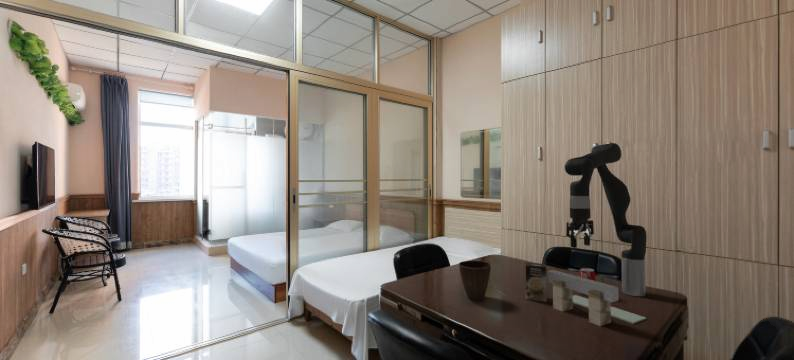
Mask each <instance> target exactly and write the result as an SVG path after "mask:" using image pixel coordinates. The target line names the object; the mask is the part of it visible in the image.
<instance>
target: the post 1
mask: <svg viewBox="0 0 794 360" xmlns="http://www.w3.org/2000/svg"><path fill="white" fill-rule="evenodd" d="M573 291H574V290H571V289H567V288H564V287H563V282H561V281H558V280H554V279H553V284H552V308H553V309H554V310H557V311H560V312H563V313H564V312H566V311H570V310H572V309H574V303H573V296H574V295H573V293H574V292H573Z"/></svg>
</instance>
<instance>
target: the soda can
mask: <svg viewBox="0 0 794 360" xmlns="http://www.w3.org/2000/svg"><path fill="white" fill-rule="evenodd" d="M578 277H582V278H586V279H589V280H593V281H596V279H597V278H596V273H595V269H593V268H589V267H588V268H587V267H581V268H580V270H579V273H578ZM581 295H582V296H587V297H588V295H587V294H584V293H581Z"/></svg>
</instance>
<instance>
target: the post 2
mask: <svg viewBox="0 0 794 360" xmlns="http://www.w3.org/2000/svg"><path fill="white" fill-rule="evenodd" d="M587 297H588V298H587V299H589V308H588V323H591V324H594V325H596V326H598V327H601V326H606V325H607V324H611V323H612V322H611V321H612V316H611V307H612V306H611V303H612V302H609V301H606V300H603V299H601V293H599V292H595V291H592V290H588V296H587Z"/></svg>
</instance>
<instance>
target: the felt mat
mask: <svg viewBox="0 0 794 360" xmlns="http://www.w3.org/2000/svg"><path fill="white" fill-rule="evenodd" d="M574 304H575V305H577V306H581V307H584V308H586V309H589V299H588V298H585V297H583V296H580V295H577V294H574V295H573V305H574ZM612 317H613V318H615V319H618V320H621V321H624V322H626V323H629V324H636V323H639V322H642V321H645V320H647V317H646V316H642V315H639V314H636V313H632V312H630V311H626V310H623V309H620V308H617V307H614V306H611V318H612Z"/></svg>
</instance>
